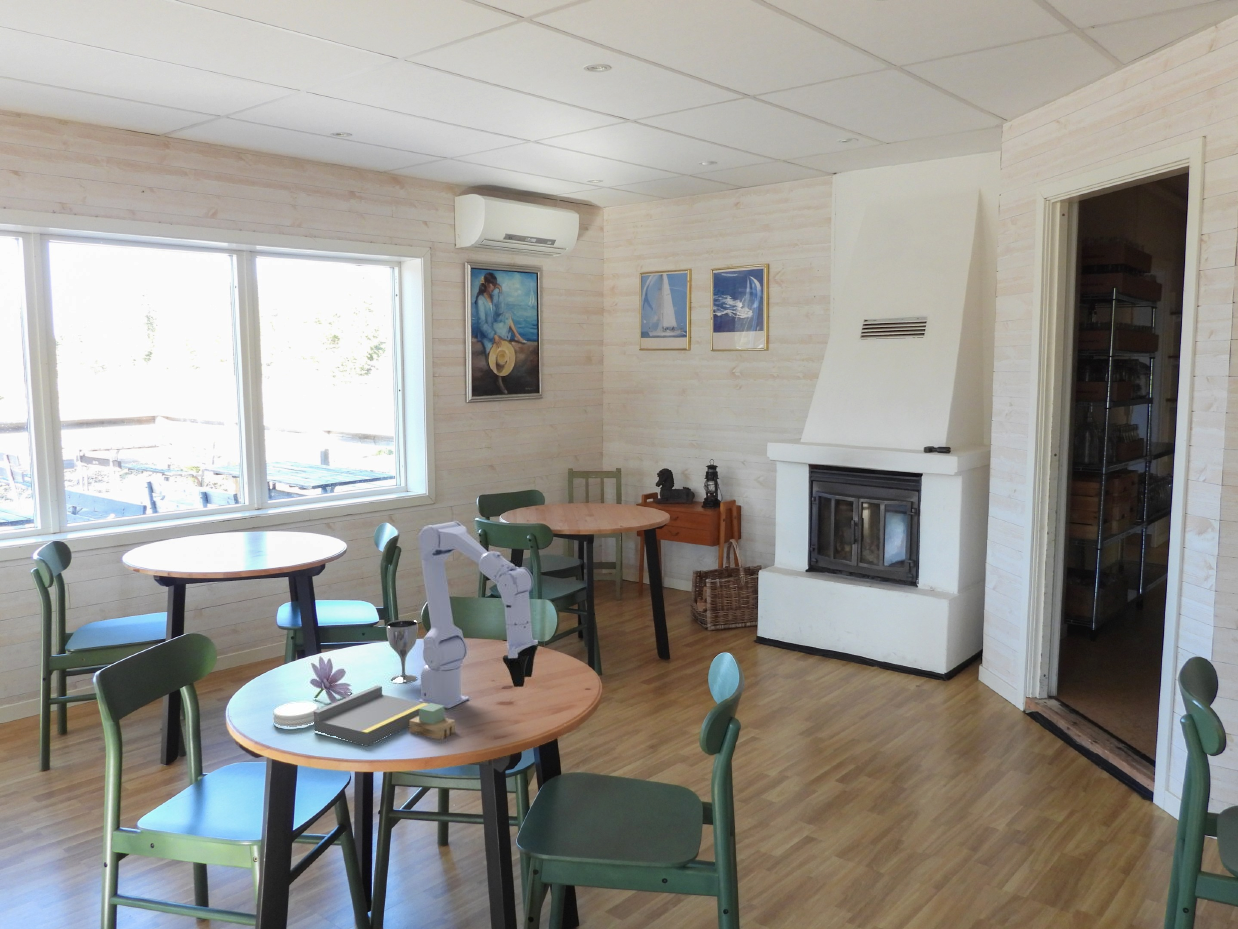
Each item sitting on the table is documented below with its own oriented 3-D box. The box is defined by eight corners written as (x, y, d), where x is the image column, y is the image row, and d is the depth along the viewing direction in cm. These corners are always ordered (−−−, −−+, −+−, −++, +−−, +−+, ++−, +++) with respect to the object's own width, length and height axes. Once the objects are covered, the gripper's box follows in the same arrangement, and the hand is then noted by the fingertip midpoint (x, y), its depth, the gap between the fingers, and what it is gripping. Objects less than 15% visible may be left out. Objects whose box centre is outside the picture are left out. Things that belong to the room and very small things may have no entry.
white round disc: (266, 723, 217) (265, 708, 217) (306, 712, 224) (306, 697, 224) (285, 734, 210) (285, 719, 210) (327, 722, 217) (326, 708, 217)
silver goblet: (421, 682, 245) (420, 625, 243) (390, 685, 242) (388, 628, 240) (416, 673, 252) (414, 618, 251) (386, 676, 249) (384, 621, 248)
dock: (314, 733, 210) (313, 711, 210) (377, 705, 227) (377, 685, 227) (367, 746, 202) (366, 724, 202) (429, 716, 220) (428, 696, 219)
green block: (419, 721, 209) (418, 708, 209) (431, 715, 213) (430, 703, 212) (433, 724, 207) (432, 711, 207) (444, 718, 211) (444, 706, 210)
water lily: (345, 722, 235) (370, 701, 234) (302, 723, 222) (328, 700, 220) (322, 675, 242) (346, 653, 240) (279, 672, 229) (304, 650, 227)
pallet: (409, 733, 210) (409, 720, 210) (424, 726, 215) (424, 713, 214) (440, 740, 206) (440, 727, 206) (455, 733, 210) (455, 720, 210)
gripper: (528, 629, 205) (532, 690, 206) (542, 614, 219) (547, 672, 220) (496, 630, 206) (501, 691, 207) (513, 616, 220) (517, 673, 221)
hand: (523, 681), depth 213 cm, fingers open, 7 cm apart
